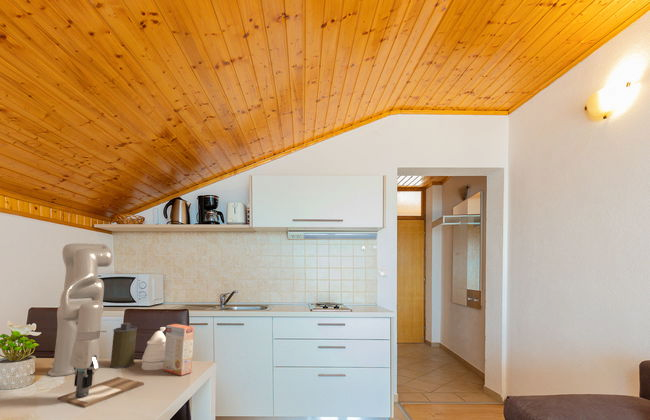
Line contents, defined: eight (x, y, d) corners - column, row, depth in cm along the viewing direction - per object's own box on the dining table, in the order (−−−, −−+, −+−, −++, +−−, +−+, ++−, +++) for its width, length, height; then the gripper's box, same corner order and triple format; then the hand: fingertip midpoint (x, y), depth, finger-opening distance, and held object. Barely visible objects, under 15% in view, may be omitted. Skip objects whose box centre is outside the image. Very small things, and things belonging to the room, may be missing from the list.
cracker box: (192, 372, 158) (195, 326, 161) (180, 376, 153) (183, 328, 156) (174, 367, 165) (177, 322, 168) (162, 370, 160) (165, 324, 163)
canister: (126, 368, 163) (130, 325, 165) (104, 368, 163) (109, 325, 165) (139, 361, 173) (142, 321, 176) (118, 361, 173) (122, 320, 176)
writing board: (57, 399, 127) (57, 396, 127) (117, 378, 149) (118, 376, 149) (84, 407, 121) (85, 404, 121) (143, 384, 143) (143, 382, 143)
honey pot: (162, 360, 176) (165, 324, 179) (175, 365, 168) (177, 327, 171) (136, 366, 166) (140, 328, 169) (148, 372, 158) (151, 332, 161)
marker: (72, 396, 127) (76, 362, 129) (84, 391, 131) (87, 359, 132) (79, 397, 125) (83, 363, 127) (91, 393, 129) (94, 360, 131)
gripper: (64, 335, 131) (58, 386, 128) (92, 340, 124) (86, 393, 122) (84, 331, 138) (79, 379, 135) (112, 336, 131) (107, 386, 129)
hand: (82, 385), depth 128 cm, fingers closed on marker, 4 cm apart
